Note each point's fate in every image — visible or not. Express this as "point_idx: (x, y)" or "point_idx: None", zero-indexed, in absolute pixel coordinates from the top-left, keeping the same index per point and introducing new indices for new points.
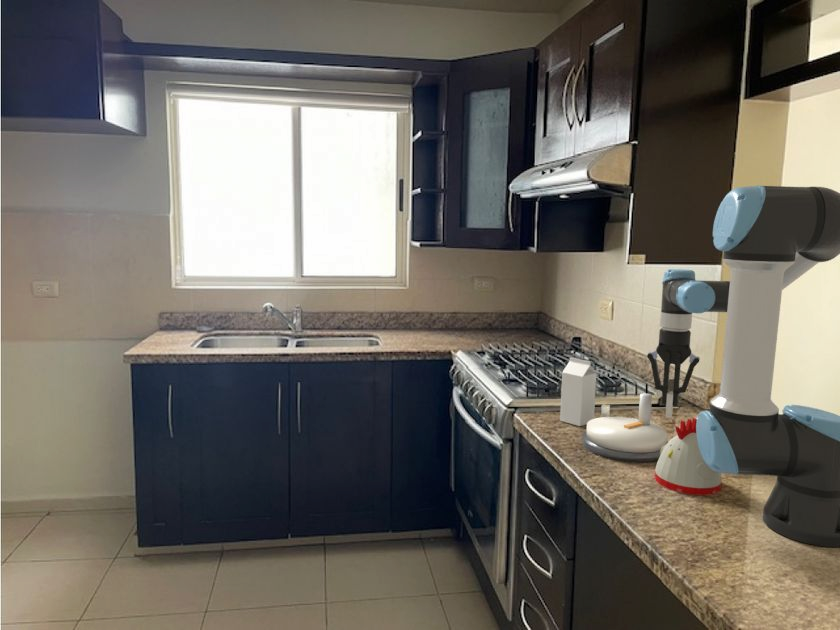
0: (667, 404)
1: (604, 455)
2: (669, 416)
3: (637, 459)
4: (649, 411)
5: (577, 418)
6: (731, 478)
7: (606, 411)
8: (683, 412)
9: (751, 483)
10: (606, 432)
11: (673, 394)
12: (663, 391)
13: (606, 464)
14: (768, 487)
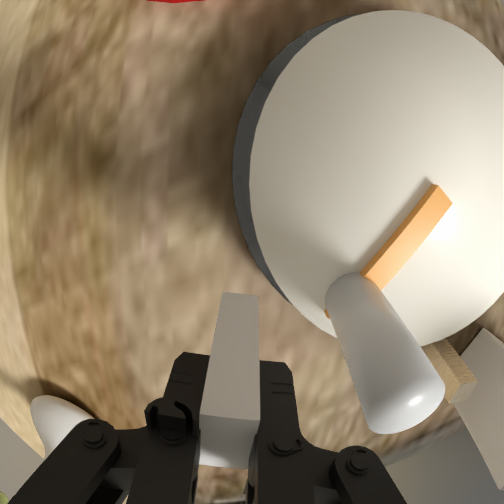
0: (249, 349)
1: None
2: (233, 297)
3: None
4: (354, 320)
5: (498, 341)
6: (64, 22)
7: (457, 371)
8: (201, 487)
9: (30, 22)
10: (501, 108)
11: (198, 424)
12: (296, 438)
13: (439, 4)
14: (6, 25)
